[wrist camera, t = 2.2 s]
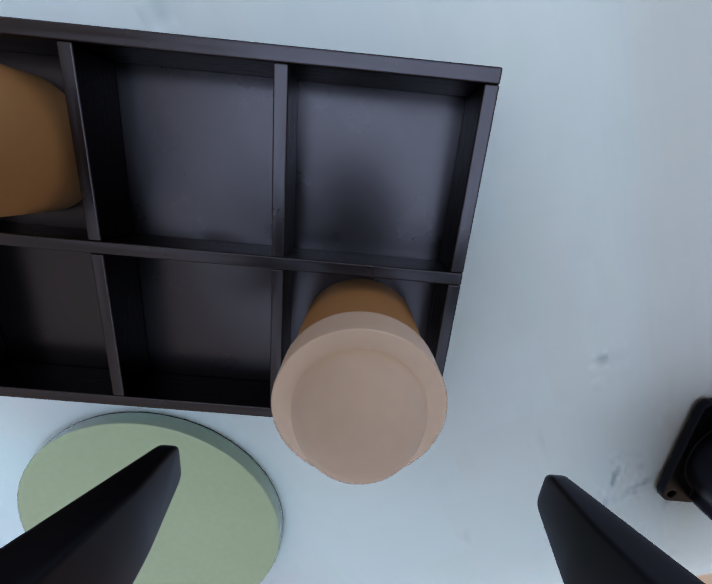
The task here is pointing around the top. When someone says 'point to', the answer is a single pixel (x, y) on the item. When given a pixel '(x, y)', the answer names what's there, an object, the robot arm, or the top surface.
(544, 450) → the top surface
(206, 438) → the plate
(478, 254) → the top surface
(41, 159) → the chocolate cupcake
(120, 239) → the dark grey compartment tray
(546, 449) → the top surface
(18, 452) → the top surface
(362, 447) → the vanilla cupcake
